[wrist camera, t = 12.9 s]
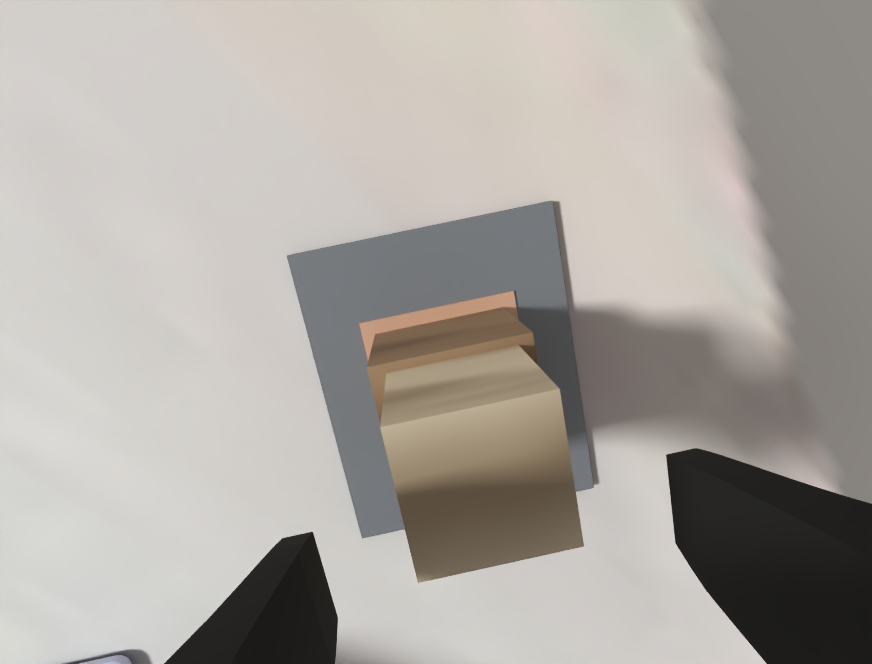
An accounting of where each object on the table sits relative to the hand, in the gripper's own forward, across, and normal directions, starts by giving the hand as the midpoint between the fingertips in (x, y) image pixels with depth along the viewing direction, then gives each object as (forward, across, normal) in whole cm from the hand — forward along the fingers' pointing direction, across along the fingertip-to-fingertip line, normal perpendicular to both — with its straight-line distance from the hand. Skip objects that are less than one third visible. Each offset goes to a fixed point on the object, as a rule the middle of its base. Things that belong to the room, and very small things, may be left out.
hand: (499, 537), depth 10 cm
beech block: (+6, 0, 0) cm, 6 cm away
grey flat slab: (+10, 0, 0) cm, 10 cm away
